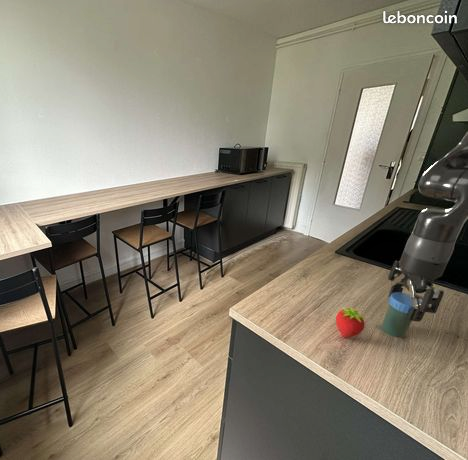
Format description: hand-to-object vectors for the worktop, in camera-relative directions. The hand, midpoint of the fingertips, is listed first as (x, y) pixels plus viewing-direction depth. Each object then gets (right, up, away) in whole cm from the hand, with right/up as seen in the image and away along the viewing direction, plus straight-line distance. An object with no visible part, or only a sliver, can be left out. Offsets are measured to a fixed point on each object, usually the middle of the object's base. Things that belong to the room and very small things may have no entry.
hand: (403, 308), depth 65 cm
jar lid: (0, +2, -1) cm, 3 cm away
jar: (0, -7, +3) cm, 7 cm away
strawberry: (-14, -8, +1) cm, 16 cm away
